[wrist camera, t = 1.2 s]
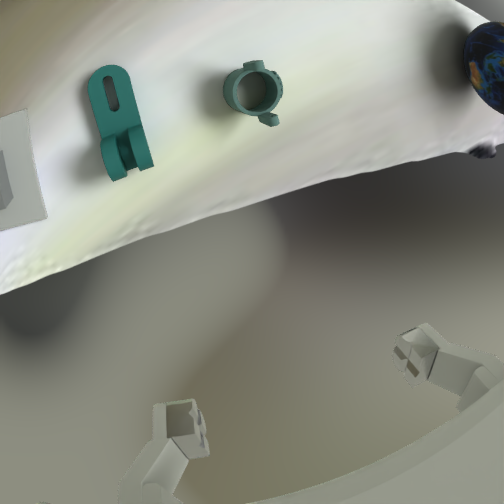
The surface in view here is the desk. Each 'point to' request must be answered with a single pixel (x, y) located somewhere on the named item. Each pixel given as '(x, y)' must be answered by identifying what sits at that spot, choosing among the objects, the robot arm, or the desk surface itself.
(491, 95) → the globe
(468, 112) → the desk surface
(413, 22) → the desk surface
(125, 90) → the bracket
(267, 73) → the bracket
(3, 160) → the well
